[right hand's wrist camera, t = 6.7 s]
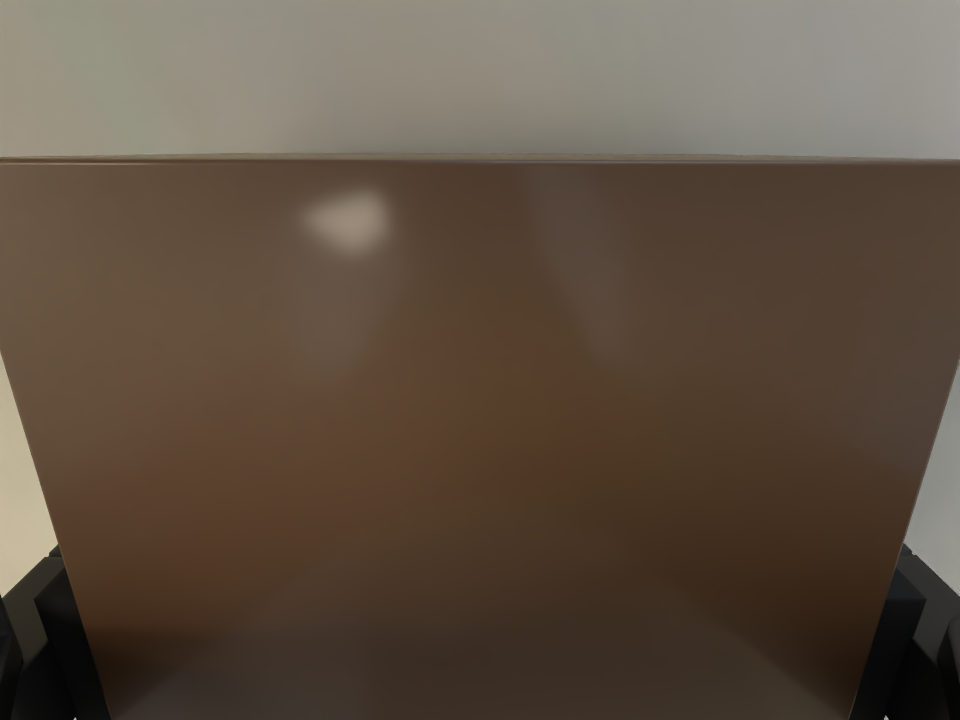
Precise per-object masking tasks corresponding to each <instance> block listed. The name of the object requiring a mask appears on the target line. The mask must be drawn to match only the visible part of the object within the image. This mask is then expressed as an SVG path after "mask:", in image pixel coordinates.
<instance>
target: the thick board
mask: <svg viewBox="0 0 960 720" xmlns="http://www.w3.org/2000/svg"><path fill="white" fill-rule="evenodd" d="M0 352H1V355H2V358H3V362H4V365H5V368H6V372H7V375H8V378H9V382H10V385H11V388H12V392H13V395H14V398H15V402H16V405H17V408H18V412H19V415H20V418H21V422H22V425H23V428H24V431H25V435H26V438H27V441H28V445H29V448H30V451H31V455H32V458H33V461H34V465H35V468H36V471H37V475H38V478H39V481H40V485H41V488H42V491H43V495H44V498H45V501H46V504H47V508H48V511H49V514H50V518H51V521H52V524H53V528H54V531H55V534H56V538H57V541H58V544H59V548H60V551H61V554H62V558H63V561H64V564H65V567H66V571H67V574H68V577H69V581H70V584H71V587H72V591H73V594H74V597H75V601H76V604H77V607H78V611H79V614H80V617H81V621H82V624H83V627H84V631H85V634H86V637H87V640H88V644H89V647H90V650H91V654H92V657H93V660H94V664H95V667H96V670H97V674H98V677H99V680H100V684H101V687H102V690H103V694H104V697H105V700H106V704H107V707H108V710H109V713H110V717H111V720H849V717H850V714H851V711H852V708H853V704H854V701H855V698H856V695H857V691H858V688H859V685H860V682H861V678H862V675H863V672H864V669H865V665H866V662H867V659H868V656H869V652H870V649H871V646H872V643H873V640H874V636H875V633H876V630H877V627H878V623H879V620H880V617H881V614H882V610H883V607H884V604H885V601H886V597H887V594H888V591H889V588H890V584H891V581H892V578H893V575H894V571H895V568H896V565H897V562H898V558H899V555H900V552H901V549H902V545H903V542H904V539H905V536H906V532H907V529H908V526H909V523H910V519H911V516H912V513H913V510H914V507H915V503H916V500H917V497H918V494H919V490H920V487H921V484H922V481H923V477H924V474H925V471H926V468H927V464H928V461H929V458H930V455H931V451H932V448H933V445H934V442H935V438H936V435H937V432H938V429H939V425H940V422H941V419H942V416H943V412H944V409H945V406H946V403H947V399H948V396H949V393H950V390H951V386H952V383H953V380H954V377H955V374H956V370H957V367H958V364H959V361H960V160H957V159H910V158H862V157H814V156H767V155H719V154H378V153H228V154H165V155H103V156H40V157H0Z"/></svg>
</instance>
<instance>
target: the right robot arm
mask: <svg viewBox="0 0 960 720" xmlns="http://www.w3.org/2000/svg"><path fill="white" fill-rule="evenodd" d="M885 715H886V716H887V717H888V719H889V720H960V596H958V595H957V594H956V593H955V592H954V591H953V590H952V589H951V588H950V587H949V586H948V585H947V584H946V583H945V582H944V581H943V580H942V579H941V578H940V577H939V576H938V575H937V574H935V573H934V572H933V571H932V570H931V569H930V568H929V567H928V566H927V565H926V564H925V563H924V562H923V561H922V560H921V559H920V558H919V557H918V556H917V555H912V551H911V550H910V549H909V548H908V547H907V546H906V545H905V544H904V543H903V545H902V549H901V552H900V555H899V558H898V562H897V565H896V568H895V571H894V575H893V578H892V581H891V584H890V588H889V591H888V594H887V597H886V601H885V604H884V607H883V610H882V614H881V617H880V620H879V623H878V627H877V630H876V633H875V636H874V640H873V643H872V646H871V649H870V652H869V656H868V659H867V662H866V665H865V669H864V672H863V675H862V678H861V682H860V685H859V688H858V691H857V695H856V698H855V701H854V704H853V708H852V711H851V714H850V717H849V720H884V718H885ZM75 717H76V720H111V717H110V713H109V710H108V707H107V704H106V700H105V697H104V694H103V690H102V687H101V684H100V680H99V677H98V674H97V670H96V667H95V664H94V660H93V657H92V654H91V650H90V647H89V644H88V640H87V637H86V634H85V631H84V627H83V624H82V621H81V617H80V614H79V611H78V607H77V604H76V601H75V597H74V594H73V591H72V587H71V584H70V581H69V577H68V574H67V571H66V567H65V564H64V561H63V558H62V554H61V551H60V548H59V544H58V545H57V546H56V547H55V548H54V549H53V550H52V551H51V552H50V553H49V557H44V558H43V559H42V560H41V561H40V562H39V563H38V564H37V565H36V566H35V567H34V568H33V569H32V570H31V571H30V572H29V573H28V574H27V575H26V576H25V577H24V578H23V579H22V580H21V581H20V582H18V583H17V584H16V585H15V586H14V587H13V588H12V589H11V590H10V591H9V592H8V593H7V594H6V595H5V596H4V597H3V598H1V595H0V720H74V718H75Z"/></svg>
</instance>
